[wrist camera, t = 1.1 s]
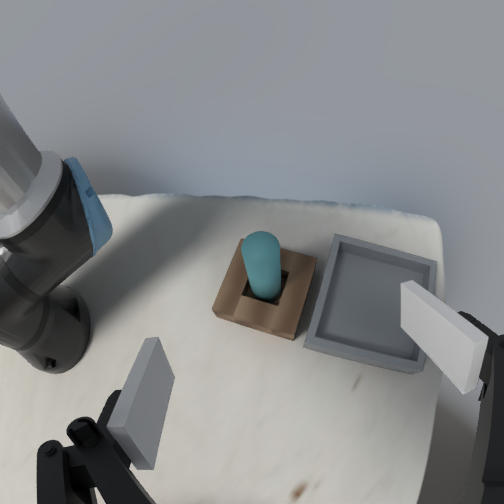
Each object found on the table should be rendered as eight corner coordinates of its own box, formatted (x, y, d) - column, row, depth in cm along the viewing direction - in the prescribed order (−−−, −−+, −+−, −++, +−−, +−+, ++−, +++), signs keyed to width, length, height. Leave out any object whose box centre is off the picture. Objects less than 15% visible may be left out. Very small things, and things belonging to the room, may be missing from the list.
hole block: (217, 317, 43) (211, 309, 40) (244, 250, 48) (241, 238, 44) (293, 340, 40) (294, 334, 37) (315, 269, 45) (317, 258, 42)
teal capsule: (248, 299, 43) (235, 259, 32) (257, 273, 44) (248, 227, 34) (276, 307, 42) (272, 269, 31) (285, 281, 43) (284, 236, 33)
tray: (302, 347, 40) (304, 341, 37) (331, 245, 46) (334, 233, 43) (412, 374, 36) (422, 370, 33) (427, 271, 43) (436, 261, 40)
